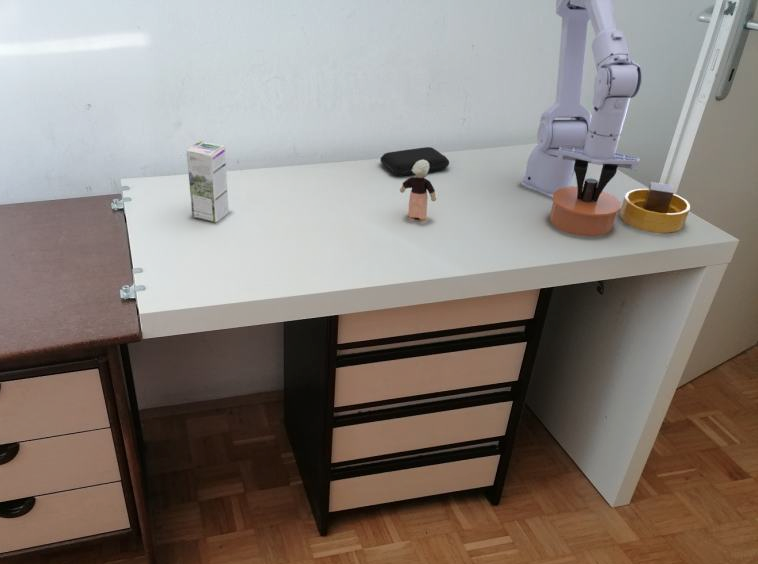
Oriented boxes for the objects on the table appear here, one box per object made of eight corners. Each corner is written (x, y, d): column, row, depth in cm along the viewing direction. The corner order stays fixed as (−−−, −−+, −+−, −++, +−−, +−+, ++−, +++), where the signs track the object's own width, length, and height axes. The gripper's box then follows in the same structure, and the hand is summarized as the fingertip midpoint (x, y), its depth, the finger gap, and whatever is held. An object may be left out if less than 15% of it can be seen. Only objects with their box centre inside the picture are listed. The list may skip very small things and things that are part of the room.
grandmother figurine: (435, 218, 149) (443, 159, 142) (432, 226, 146) (439, 166, 139) (398, 213, 151) (404, 154, 144) (394, 220, 148) (400, 161, 141)
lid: (538, 202, 146) (543, 178, 143) (576, 186, 153) (582, 162, 150) (595, 225, 138) (602, 200, 135) (632, 207, 145) (640, 183, 142)
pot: (537, 222, 149) (542, 199, 146) (571, 206, 155) (577, 184, 152) (588, 244, 141) (595, 221, 138) (623, 227, 147) (629, 204, 144)
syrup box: (229, 212, 151) (226, 144, 142) (215, 224, 146) (211, 154, 138) (206, 207, 153) (201, 139, 144) (191, 218, 148) (185, 149, 140)
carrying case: (429, 154, 178) (374, 162, 173) (430, 142, 176) (375, 149, 172) (451, 170, 170) (395, 179, 165) (453, 158, 168) (396, 166, 164)
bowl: (607, 218, 150) (613, 198, 148) (639, 203, 156) (645, 183, 154) (662, 241, 143) (670, 220, 140) (694, 223, 149) (701, 203, 146)
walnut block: (640, 221, 148) (650, 189, 144) (640, 213, 151) (650, 181, 147) (662, 225, 147) (673, 193, 143) (662, 216, 150) (673, 185, 146)
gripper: (562, 132, 136) (547, 200, 144) (645, 143, 131) (625, 212, 139) (565, 121, 141) (550, 186, 149) (645, 131, 137) (626, 198, 145)
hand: (586, 198), depth 144 cm, fingers closed on lid, 2 cm apart
